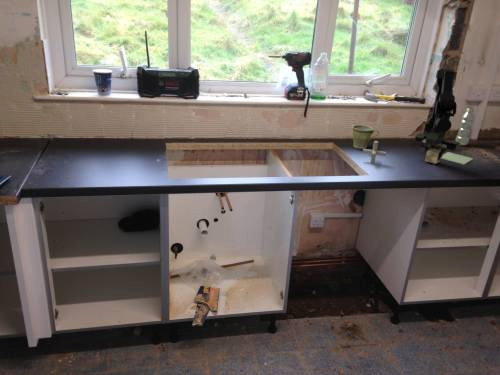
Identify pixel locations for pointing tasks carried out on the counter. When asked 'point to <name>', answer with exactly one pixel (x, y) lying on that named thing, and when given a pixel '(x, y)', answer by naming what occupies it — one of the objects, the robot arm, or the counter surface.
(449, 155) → the sage mat
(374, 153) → the pipe connector
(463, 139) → the silver ribbed metal bottle
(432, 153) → the beech block
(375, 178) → the counter surface
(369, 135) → the ceramic cup
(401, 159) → the counter surface
